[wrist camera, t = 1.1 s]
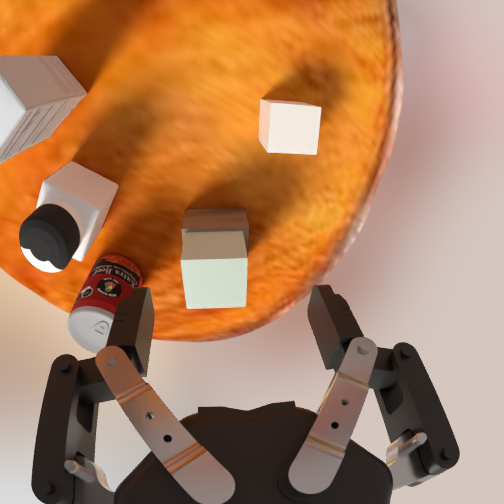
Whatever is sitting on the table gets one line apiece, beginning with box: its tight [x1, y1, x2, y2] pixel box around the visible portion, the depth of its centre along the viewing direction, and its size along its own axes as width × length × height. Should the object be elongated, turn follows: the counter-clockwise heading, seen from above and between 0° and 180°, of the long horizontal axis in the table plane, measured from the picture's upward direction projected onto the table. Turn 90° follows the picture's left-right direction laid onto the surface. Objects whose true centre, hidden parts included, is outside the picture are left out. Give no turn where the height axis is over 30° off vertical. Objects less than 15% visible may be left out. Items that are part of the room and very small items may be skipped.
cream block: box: [258, 99, 321, 155], centre depth 26 cm, size 5×5×6 cm
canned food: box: [67, 254, 142, 354], centre depth 33 cm, size 8×8×11 cm
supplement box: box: [0, 55, 87, 164], centre depth 18 cm, size 7×7×13 cm
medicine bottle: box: [19, 161, 119, 272], centre depth 25 cm, size 7×7×12 cm
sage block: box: [181, 231, 248, 309], centre depth 29 cm, size 6×6×5 cm
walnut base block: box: [181, 208, 249, 269], centre depth 34 cm, size 7×7×5 cm
